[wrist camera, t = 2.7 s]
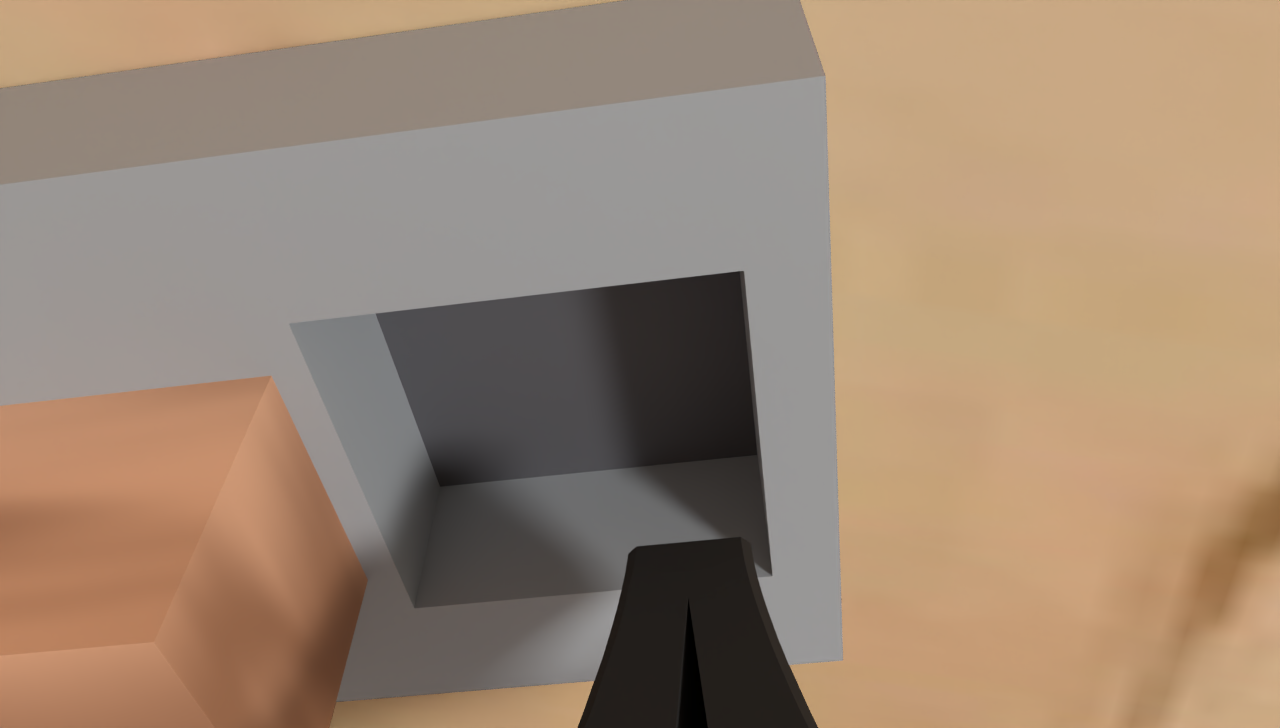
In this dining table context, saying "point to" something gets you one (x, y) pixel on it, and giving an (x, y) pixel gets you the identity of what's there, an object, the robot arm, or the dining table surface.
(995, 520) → the dining table surface
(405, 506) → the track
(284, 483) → the block
